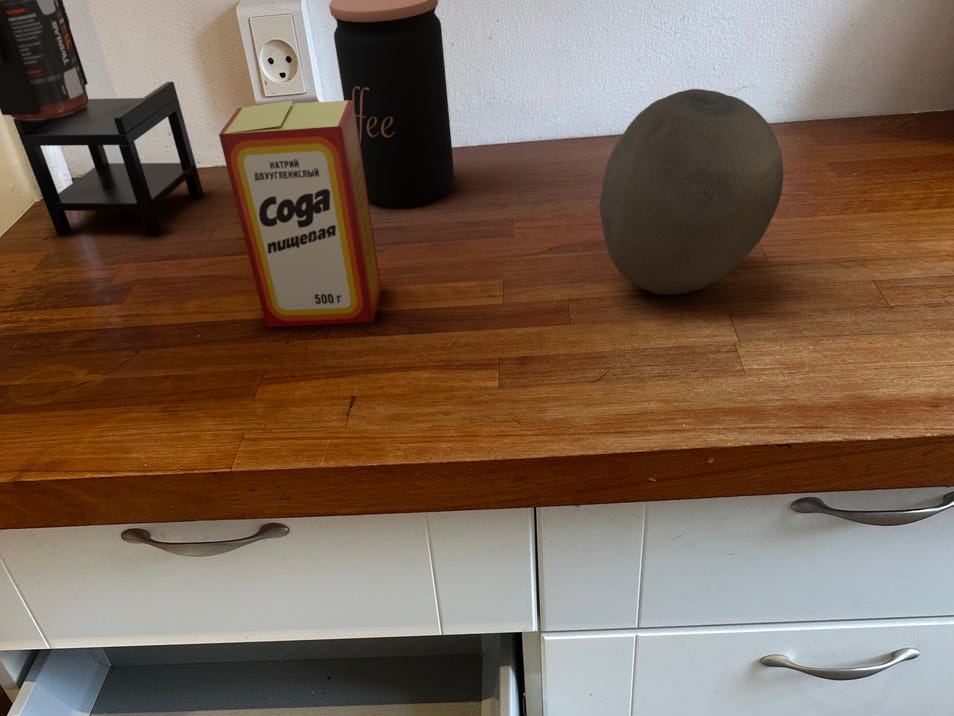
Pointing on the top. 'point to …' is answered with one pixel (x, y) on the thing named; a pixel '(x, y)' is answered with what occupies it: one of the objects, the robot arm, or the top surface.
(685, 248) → the dark grey oval lump
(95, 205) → the rack
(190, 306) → the top surface
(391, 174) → the coffee jar
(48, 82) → the supplement bottle
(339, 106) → the baking soda box
